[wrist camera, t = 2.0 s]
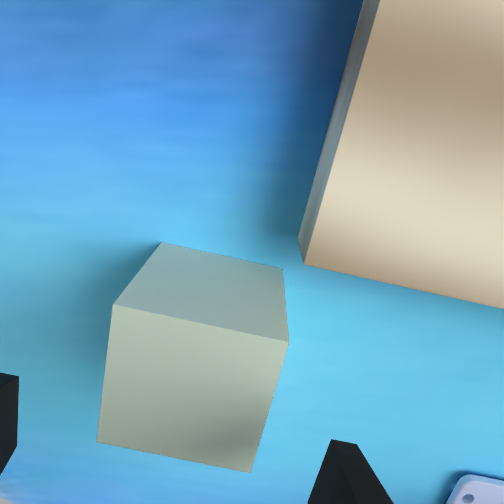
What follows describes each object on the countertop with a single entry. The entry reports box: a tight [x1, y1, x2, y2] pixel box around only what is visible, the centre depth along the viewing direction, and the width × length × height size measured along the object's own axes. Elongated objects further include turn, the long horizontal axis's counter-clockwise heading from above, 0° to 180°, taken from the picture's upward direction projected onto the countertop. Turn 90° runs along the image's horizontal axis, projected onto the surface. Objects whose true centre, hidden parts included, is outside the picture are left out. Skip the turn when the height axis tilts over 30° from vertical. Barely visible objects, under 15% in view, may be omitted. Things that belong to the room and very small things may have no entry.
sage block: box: [96, 242, 289, 473], centre depth 13 cm, size 4×4×5 cm
